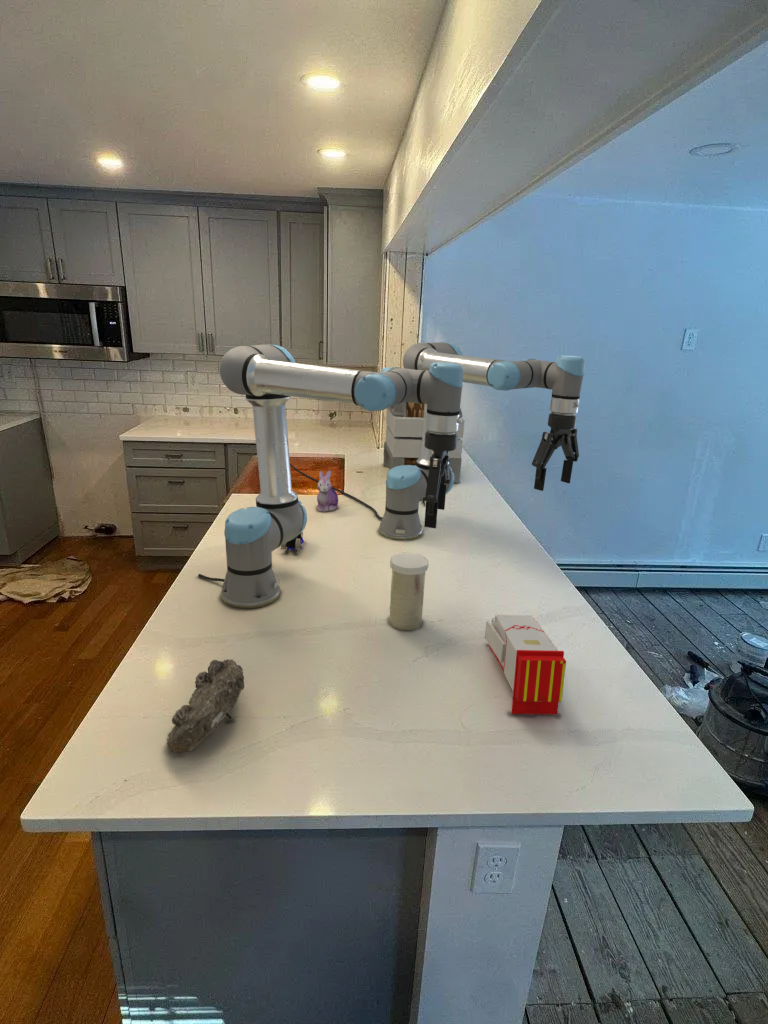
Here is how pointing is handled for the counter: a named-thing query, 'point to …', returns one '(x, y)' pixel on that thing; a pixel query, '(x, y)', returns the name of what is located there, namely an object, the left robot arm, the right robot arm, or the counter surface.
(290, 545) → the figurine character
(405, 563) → the lid
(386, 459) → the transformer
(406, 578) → the jar
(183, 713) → the fossil
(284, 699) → the counter surface
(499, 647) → the toy
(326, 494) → the figurine
